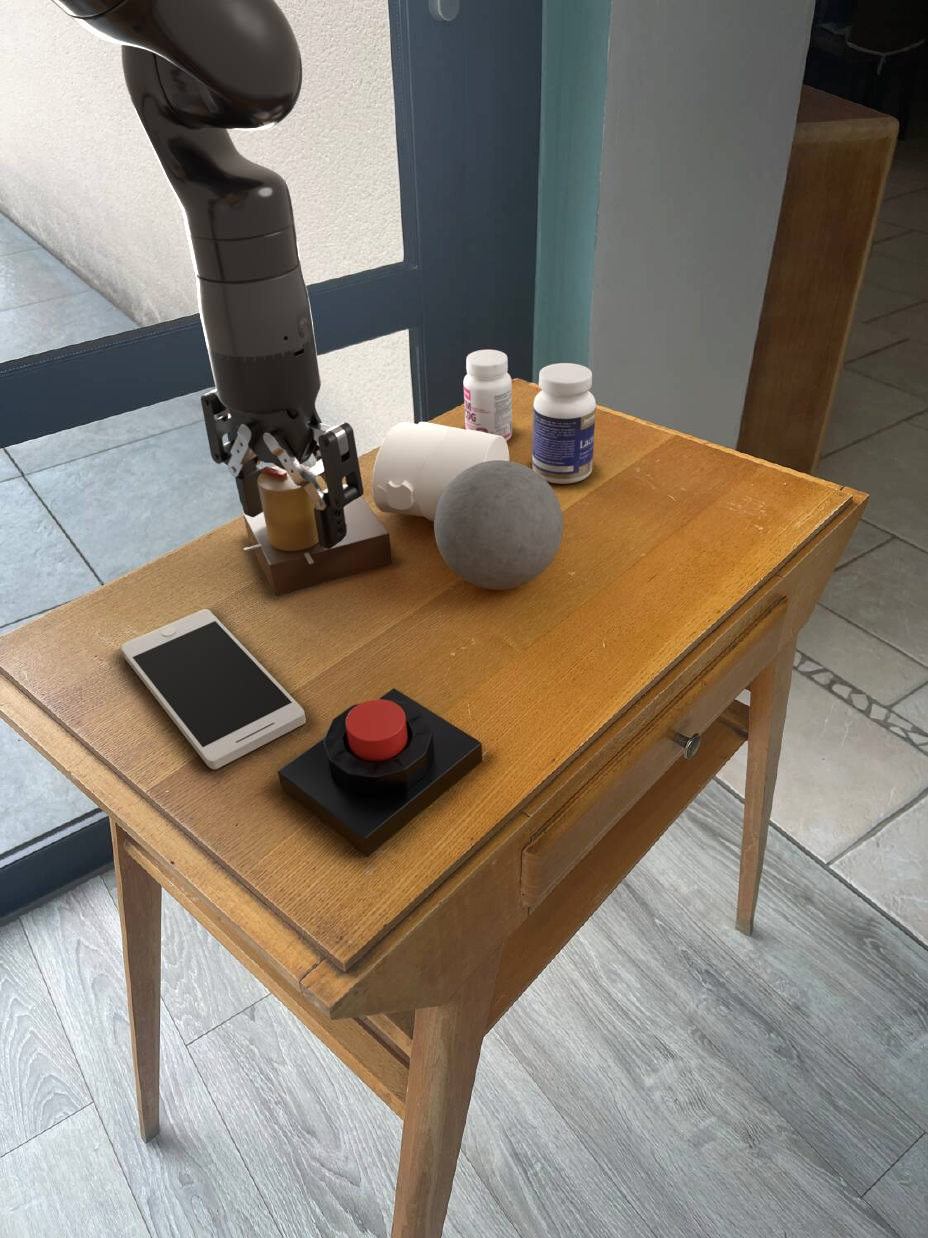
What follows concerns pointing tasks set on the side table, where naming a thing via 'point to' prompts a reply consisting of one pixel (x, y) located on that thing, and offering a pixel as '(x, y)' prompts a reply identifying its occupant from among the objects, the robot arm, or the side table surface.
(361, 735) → the button
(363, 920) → the side table surface
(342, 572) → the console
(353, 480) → the robot arm
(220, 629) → the smartphone
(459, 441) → the mug
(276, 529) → the knob
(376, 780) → the button box
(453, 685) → the side table surface
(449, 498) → the decorative ball
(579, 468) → the pill bottle
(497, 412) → the pill bottle
